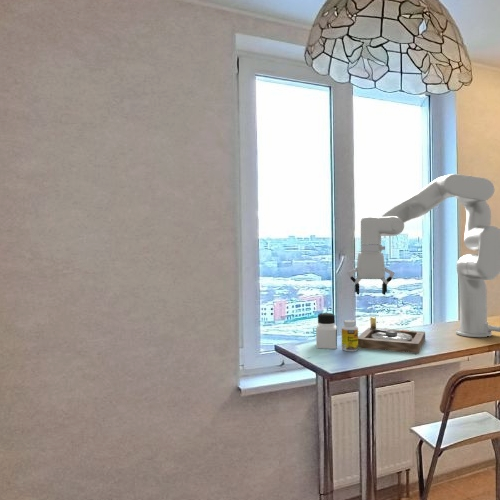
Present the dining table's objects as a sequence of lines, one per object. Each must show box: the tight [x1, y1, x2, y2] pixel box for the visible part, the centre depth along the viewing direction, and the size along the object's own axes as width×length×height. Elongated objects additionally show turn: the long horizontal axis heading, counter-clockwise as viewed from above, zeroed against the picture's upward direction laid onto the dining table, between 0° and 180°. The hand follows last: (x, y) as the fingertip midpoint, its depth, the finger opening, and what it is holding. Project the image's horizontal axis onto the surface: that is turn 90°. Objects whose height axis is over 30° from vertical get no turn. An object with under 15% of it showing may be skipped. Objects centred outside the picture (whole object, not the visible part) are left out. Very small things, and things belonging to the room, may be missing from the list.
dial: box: [369, 316, 412, 342], centre depth 161 cm, size 16×14×7 cm
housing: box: [358, 327, 426, 354], centre depth 160 cm, size 21×21×3 cm
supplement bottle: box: [341, 319, 359, 353], centre depth 152 cm, size 6×6×10 cm
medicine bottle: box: [315, 312, 338, 350], centre depth 158 cm, size 7×7×12 cm
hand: (370, 294), depth 167 cm, fingers open, 9 cm apart
